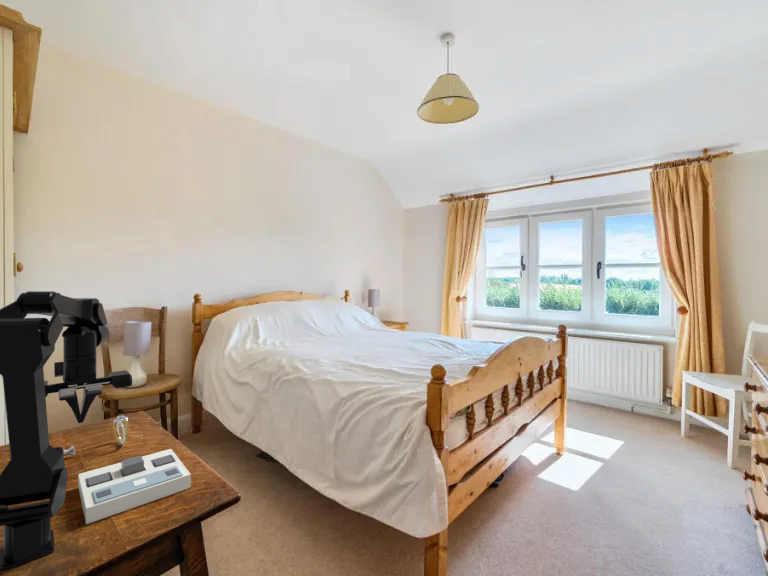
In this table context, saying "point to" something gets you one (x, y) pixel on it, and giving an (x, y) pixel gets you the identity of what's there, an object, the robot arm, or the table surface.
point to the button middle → (132, 466)
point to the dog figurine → (69, 451)
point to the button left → (98, 479)
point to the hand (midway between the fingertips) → (80, 422)
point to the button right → (162, 461)
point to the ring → (125, 434)
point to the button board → (131, 486)
